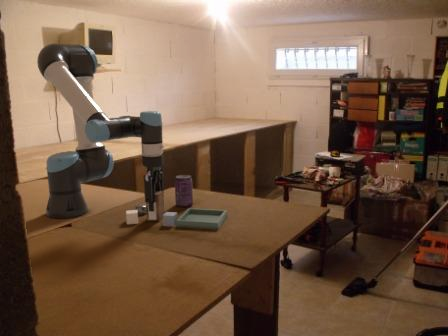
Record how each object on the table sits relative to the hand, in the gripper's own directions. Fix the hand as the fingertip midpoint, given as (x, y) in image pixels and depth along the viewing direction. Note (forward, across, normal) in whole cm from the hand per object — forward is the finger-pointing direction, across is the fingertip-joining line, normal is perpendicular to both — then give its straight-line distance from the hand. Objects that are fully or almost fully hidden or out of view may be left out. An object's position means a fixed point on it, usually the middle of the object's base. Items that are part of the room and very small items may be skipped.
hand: (155, 216), depth 160 cm
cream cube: (+1, -5, +7) cm, 9 cm away
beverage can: (+1, +19, -5) cm, 20 cm away
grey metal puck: (+1, +6, +8) cm, 10 cm away
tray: (+1, 0, -18) cm, 18 cm away
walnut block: (+1, 0, 0) cm, 1 cm away
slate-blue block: (+1, -5, -8) cm, 9 cm away
